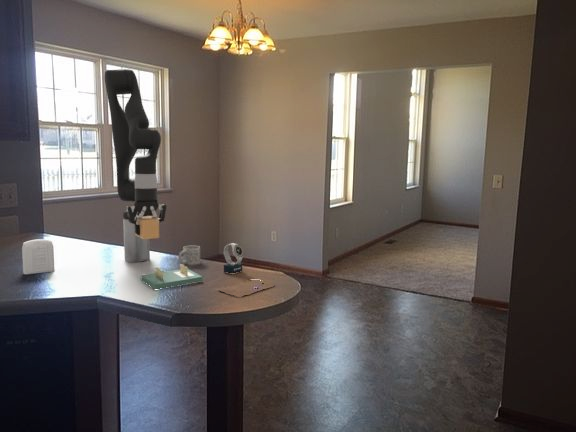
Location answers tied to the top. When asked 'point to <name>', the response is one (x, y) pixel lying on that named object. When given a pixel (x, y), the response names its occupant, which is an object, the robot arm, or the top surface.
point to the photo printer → (38, 256)
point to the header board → (171, 277)
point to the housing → (149, 228)
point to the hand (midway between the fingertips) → (147, 234)
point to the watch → (238, 253)
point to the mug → (190, 255)
